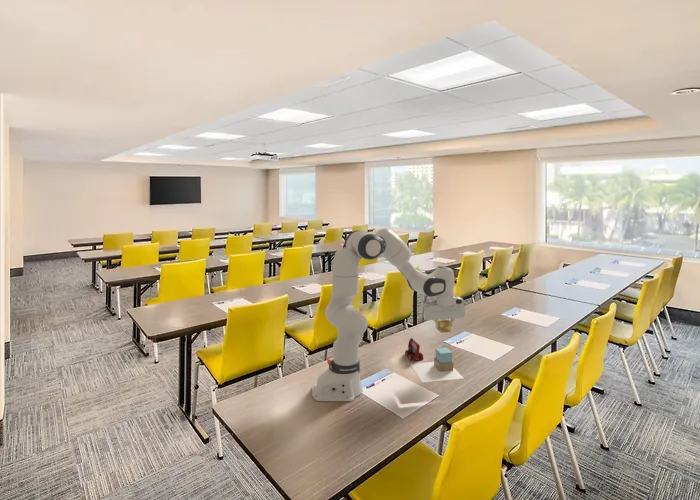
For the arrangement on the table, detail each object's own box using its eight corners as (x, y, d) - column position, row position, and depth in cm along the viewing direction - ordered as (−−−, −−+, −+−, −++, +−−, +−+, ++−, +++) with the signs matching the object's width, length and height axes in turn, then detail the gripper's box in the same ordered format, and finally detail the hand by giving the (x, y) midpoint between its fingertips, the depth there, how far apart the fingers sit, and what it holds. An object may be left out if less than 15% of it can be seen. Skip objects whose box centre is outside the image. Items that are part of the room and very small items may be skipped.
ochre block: (441, 332, 184) (441, 322, 184) (437, 329, 189) (437, 319, 188) (450, 331, 185) (451, 321, 184) (446, 328, 190) (446, 318, 189)
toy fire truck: (415, 353, 210) (415, 335, 208) (424, 363, 198) (425, 344, 196) (403, 354, 208) (403, 336, 207) (411, 364, 196) (412, 345, 195)
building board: (422, 384, 176) (423, 374, 175) (409, 366, 194) (409, 356, 194) (464, 380, 179) (464, 370, 178) (447, 362, 198) (447, 353, 197)
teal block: (440, 363, 186) (440, 353, 185) (435, 357, 192) (435, 348, 191) (452, 362, 187) (452, 352, 186) (446, 356, 193) (447, 347, 192)
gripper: (426, 303, 180) (426, 331, 182) (467, 299, 183) (466, 327, 186) (421, 299, 186) (421, 326, 188) (461, 296, 189) (460, 323, 192)
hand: (444, 327), depth 187 cm, fingers closed on ochre block, 5 cm apart
